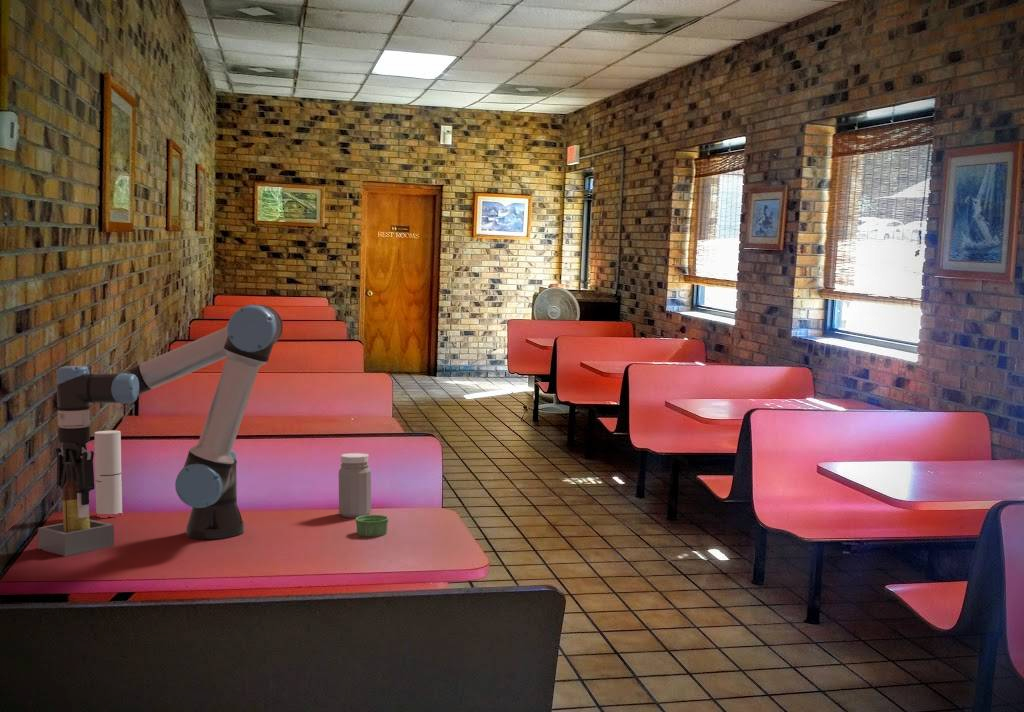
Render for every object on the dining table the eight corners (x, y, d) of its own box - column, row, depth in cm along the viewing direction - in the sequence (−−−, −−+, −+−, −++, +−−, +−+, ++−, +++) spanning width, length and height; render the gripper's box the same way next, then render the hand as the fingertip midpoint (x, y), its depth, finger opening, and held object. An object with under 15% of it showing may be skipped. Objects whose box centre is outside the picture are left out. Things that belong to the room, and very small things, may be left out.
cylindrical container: (116, 518, 289) (114, 433, 288) (92, 518, 289) (90, 433, 288) (126, 513, 296) (124, 430, 295) (102, 513, 297) (100, 430, 295)
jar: (335, 512, 297) (334, 453, 296) (367, 510, 301) (366, 451, 300) (342, 519, 288) (342, 458, 287) (375, 516, 292) (375, 456, 291)
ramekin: (395, 533, 271) (395, 517, 271) (369, 539, 264) (369, 523, 264) (374, 528, 277) (374, 513, 277) (348, 534, 270) (348, 518, 270)
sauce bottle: (95, 536, 256) (94, 460, 255) (75, 542, 250) (74, 464, 249) (77, 534, 259) (76, 458, 258) (57, 539, 253) (55, 462, 252)
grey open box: (114, 545, 257) (113, 524, 256) (65, 556, 246) (64, 534, 245) (87, 539, 264) (86, 518, 263) (38, 549, 253) (37, 527, 253)
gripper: (39, 425, 256) (42, 513, 257) (81, 430, 245) (83, 522, 246) (67, 422, 262) (69, 508, 263) (108, 427, 251) (110, 517, 252)
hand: (76, 515), depth 254 cm, fingers closed on sauce bottle, 6 cm apart
